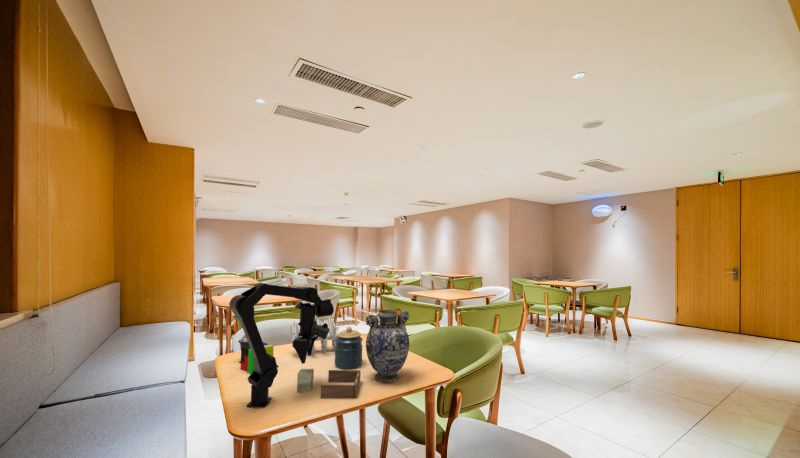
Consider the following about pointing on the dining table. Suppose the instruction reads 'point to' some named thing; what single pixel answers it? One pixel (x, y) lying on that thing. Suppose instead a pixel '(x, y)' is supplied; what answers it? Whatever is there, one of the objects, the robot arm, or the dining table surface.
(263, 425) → the dining table surface
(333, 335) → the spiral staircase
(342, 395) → the open wooden frame
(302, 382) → the block
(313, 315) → the robot arm
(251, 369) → the puzzle toy
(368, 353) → the decorative vase
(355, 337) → the canister
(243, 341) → the dark lantern
